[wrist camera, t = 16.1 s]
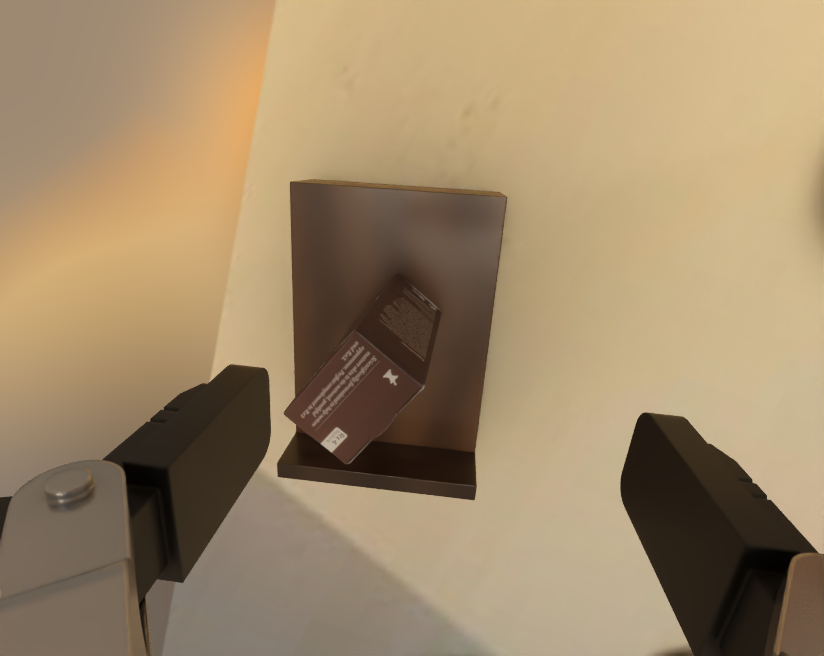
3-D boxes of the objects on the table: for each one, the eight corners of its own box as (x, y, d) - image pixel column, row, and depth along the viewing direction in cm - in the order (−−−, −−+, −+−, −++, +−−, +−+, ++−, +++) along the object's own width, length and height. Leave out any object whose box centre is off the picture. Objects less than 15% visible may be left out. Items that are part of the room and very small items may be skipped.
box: (393, 268, 31) (355, 327, 20) (444, 311, 32) (434, 392, 21) (340, 330, 33) (278, 416, 22) (388, 370, 34) (352, 473, 23)
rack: (314, 413, 42) (277, 477, 33) (312, 179, 35) (265, 183, 26) (472, 430, 41) (474, 500, 32) (501, 192, 34) (514, 201, 25)
